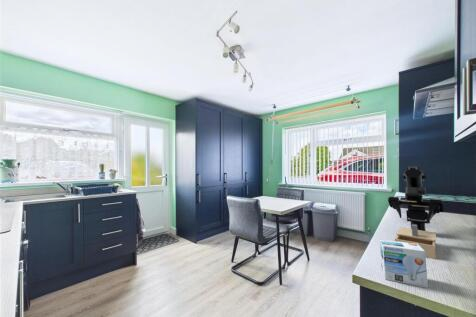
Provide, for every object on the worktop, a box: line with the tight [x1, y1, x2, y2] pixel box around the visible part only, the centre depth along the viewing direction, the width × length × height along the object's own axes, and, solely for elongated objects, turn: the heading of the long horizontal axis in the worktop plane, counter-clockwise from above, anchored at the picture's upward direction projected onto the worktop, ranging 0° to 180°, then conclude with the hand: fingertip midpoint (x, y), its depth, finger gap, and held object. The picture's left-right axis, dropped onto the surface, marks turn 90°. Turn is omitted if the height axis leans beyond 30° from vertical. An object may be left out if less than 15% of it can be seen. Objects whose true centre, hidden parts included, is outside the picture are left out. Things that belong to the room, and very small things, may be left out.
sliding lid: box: [396, 224, 437, 241], centre depth 88 cm, size 12×12×5 cm
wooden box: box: [394, 234, 437, 260], centre depth 83 cm, size 12×12×5 cm
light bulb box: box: [379, 239, 429, 289], centre depth 63 cm, size 11×7×11 cm, turn 62°
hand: (414, 219), depth 85 cm, fingers open, 9 cm apart
